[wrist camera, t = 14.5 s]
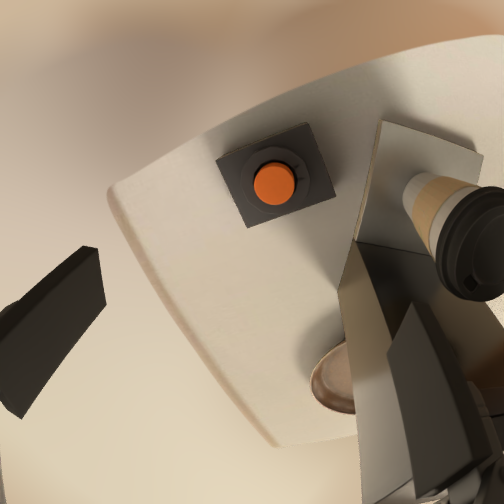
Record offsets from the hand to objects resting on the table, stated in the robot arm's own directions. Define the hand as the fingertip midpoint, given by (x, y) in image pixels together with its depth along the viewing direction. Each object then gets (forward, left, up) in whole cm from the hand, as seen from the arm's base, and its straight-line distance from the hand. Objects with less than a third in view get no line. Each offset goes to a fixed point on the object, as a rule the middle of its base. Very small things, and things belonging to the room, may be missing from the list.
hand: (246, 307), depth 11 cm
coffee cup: (-1, +17, -23) cm, 29 cm away
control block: (0, 0, -24) cm, 24 cm away
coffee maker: (+3, +17, -24) cm, 30 cm away
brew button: (0, 0, -20) cm, 20 cm away
